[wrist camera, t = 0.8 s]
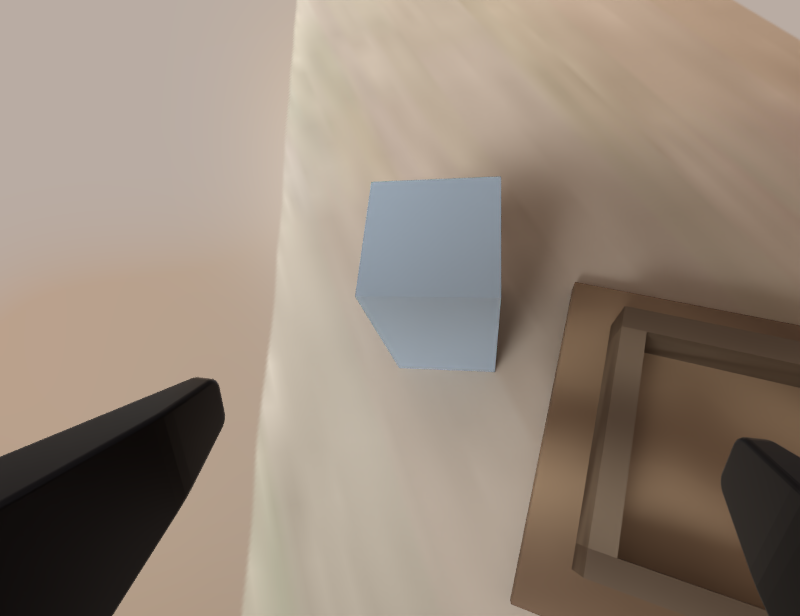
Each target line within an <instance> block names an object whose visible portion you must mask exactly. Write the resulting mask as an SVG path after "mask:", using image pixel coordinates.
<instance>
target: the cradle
mask: <svg viewBox="0 0 800 616" xmlns="http://www.w3.org/2000/svg"><path fill="white" fill-rule="evenodd" d="M742 437H749V438H759V439H767V440H771V441H773V442H775V443H777V444H778V445H780V446H782V447H784V448H785V449H787V450H789V451H790V452H792V453H794V454H795V455H797V456H799V457H800V326H799V325H794V324H789V323H783V322H778V321H773V320H768V319H763V318H758V317H753V316H747V315H742V314H737V313H732V312H727V311H722V310H717V309H711V308H706V307H701V306H696V305H691V304H686V303H681V302H675V301H670V300H665V299H660V298H655V297H650V296H645V295H639V294H634V293H629V292H624V291H619V290H614V289H609V288H603V287H598V286H593V285H588V284H583V283H578V282H575V284H574V287H573V289H572V294H571V299H570V304H569V309H568V314H567V319H566V324H565V329H564V334H563V339H562V344H561V349H560V354H559V359H558V364H557V369H556V374H555V379H554V384H553V389H552V394H551V399H550V404H549V409H548V414H547V419H546V424H545V429H544V434H543V439H542V444H541V449H540V454H539V459H538V464H537V469H536V474H535V479H534V484H533V489H532V494H531V499H530V504H529V509H528V514H527V519H526V524H525V529H524V534H523V539H522V544H521V549H520V554H519V559H518V564H517V569H516V574H515V579H514V584H513V589H512V594H511V599H510V601H511V604H513V605H515V606H517V607H520V608H522V609H525V610H527V611H530V612H532V613H535V614H537V615H540V616H768V614H767V611H766V609H765V607H764V605H763V603H762V600H761V598H760V596H759V593H758V591H757V589H756V586H755V584H754V581H753V579H752V576H751V573H750V571H749V568H748V565H747V562H746V559H745V556H744V553H743V551H742V548H741V545H740V542H739V539H738V536H737V533H736V530H735V527H734V525H733V522H732V519H731V516H730V513H729V510H728V507H727V504H726V501H725V499H724V496H723V493H722V489H721V475H722V472H723V469H724V467H725V464H726V462H727V459H728V457H729V455H730V452H731V450H732V447H733V445H734V443H735V441H736V440H737V439H739V438H742Z"/></svg>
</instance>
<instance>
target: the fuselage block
mask: <svg viewBox="0 0 800 616" xmlns="http://www.w3.org/2000/svg"><path fill="white" fill-rule="evenodd" d="M355 297H356V299H357V300H358V302H359V304H360V305H361V307H362V308H363V310H364V312H365V313H366V315H367V317H368V318H369V320H370V321H371V323H372V325H373V326H374V328H375V329H376V331H377V333H378V334H379V336H380V338H381V339H382V341H383V342H384V344H385V346H386V347H387V349H388V351H389V352H390V354H391V355H392V357H393V359H394V360H395V362H396V363H397V365H398V367H399V368H413V369H438V370H463V371H488V372H495V364H496V352H497V340H498V328H499V316H500V305H501V177H477V178H454V179H430V180H407V181H383V182H371V189H370V196H369V203H368V210H367V217H366V224H365V231H364V238H363V245H362V252H361V259H360V266H359V273H358V280H357V287H356V294H355Z"/></svg>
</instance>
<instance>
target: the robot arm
mask: <svg viewBox="0 0 800 616" xmlns="http://www.w3.org/2000/svg"><path fill="white" fill-rule="evenodd" d="M224 420H225V413H224V407H223V402H222V398H221V393H220V388H219V385H218V383H217V382H216V381H215V380H214V379H208V378H199V377H196V378H191V379H189V380H187V381H184V382H182V383H179V384H177V385H174V386H172V387H169V388H167V389H165V390H162V391H160V392H157V393H155V394H153V395H150V396H148V397H145V398H142V399H140V400H138V401H135V402H133V403H130V404H128V405H125V406H123V407H121V408H118V409H116V410H113V411H111V412H109V413H106V414H104V415H101V416H98V417H96V418H94V419H91V420H89V421H86V422H84V423H81V424H79V425H77V426H74V427H72V428H70V429H67V430H64V431H62V432H60V433H57V434H55V435H52V436H50V437H47V438H45V439H42V440H40V441H38V442H35V443H33V444H30V445H28V446H25V447H23V448H20V449H18V450H15V451H13V452H11V453H8V454H6V455H3V456H1V457H0V616H112V615H113V614H114V612H115V611H116V609H117V607H118V606H119V604H120V603H121V601H122V600H123V598H124V597H125V595H126V593H127V592H128V590H129V589H130V587H131V585H132V584H133V582H134V581H135V579H136V578H137V576H138V574H139V573H140V571H141V570H142V568H143V566H144V565H145V563H146V562H147V560H148V558H149V557H150V555H151V554H152V552H153V551H154V549H155V547H156V546H157V544H158V543H159V541H160V540H161V538H162V536H163V535H164V533H165V532H166V530H167V528H168V527H169V525H170V524H171V522H172V521H173V519H174V517H175V516H176V514H177V513H178V511H179V509H180V508H181V506H182V504H183V503H184V501H185V499H186V498H187V496H188V494H189V492H190V490H191V489H192V487H193V485H194V483H195V481H196V479H197V477H198V475H199V473H200V471H201V469H202V467H203V465H204V463H205V461H206V459H207V457H208V455H209V453H210V451H211V449H212V447H213V445H214V443H215V441H216V439H217V437H218V435H219V433H220V431H221V429H222V427H223V424H224ZM721 489H722V493H723V496H724V499H725V501H726V504H727V507H728V510H729V513H730V516H731V519H732V522H733V525H734V527H735V530H736V533H737V536H738V539H739V542H740V545H741V548H742V551H743V553H744V556H745V559H746V562H747V565H748V568H749V571H750V573H751V576H752V579H753V581H754V584H755V586H756V589H757V591H758V593H759V596H760V598H761V600H762V603H763V605H764V607H765V609H766V611H767V614H768V616H800V457H799V456H797V455H795V454H794V453H792V452H790V451H789V450H787V449H785V448H784V447H782V446H780V445H778V444H777V443H775V442H773V441H771V440H767V439H759V438H749V437H742V438H739V439H737V440H736V441H735V443H734V445H733V447H732V450H731V452H730V455H729V457H728V459H727V462H726V464H725V467H724V469H723V472H722V475H721Z"/></svg>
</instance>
